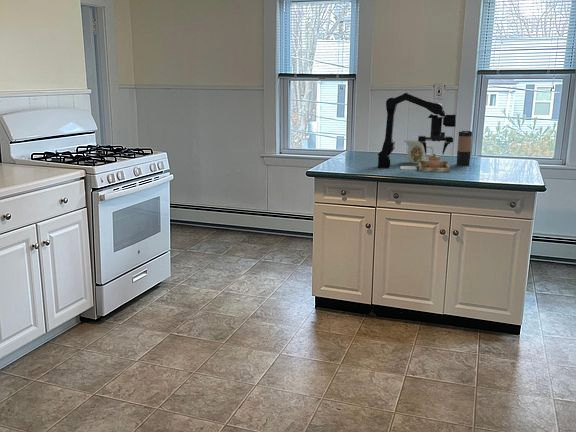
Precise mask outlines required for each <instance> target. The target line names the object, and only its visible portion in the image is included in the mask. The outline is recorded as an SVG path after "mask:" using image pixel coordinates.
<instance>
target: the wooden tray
mask: <svg viewBox="0 0 576 432" xmlns="http://www.w3.org/2000/svg"><path fill="white" fill-rule="evenodd" d="M428 163H429V160H418V164H417V167H418V171H419V172H428V173H429V172H431V173H432V172H433V173H434V172H436V173H437V172H438V173H450V172H451V166H450V165H449V161H448V160H440V163H439V168H428Z"/></svg>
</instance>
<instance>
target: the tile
mask: <svg viewBox="0 0 576 432" xmlns="http://www.w3.org/2000/svg"><path fill="white" fill-rule="evenodd" d="M399 170H406V171H407V170H408V171H410V170H411V171H418V170H417V166H414V165H412V166H410V165H400V166H399Z"/></svg>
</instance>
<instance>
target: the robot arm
mask: <svg viewBox="0 0 576 432" xmlns="http://www.w3.org/2000/svg"><path fill="white" fill-rule="evenodd" d="M405 101H406V102H409V103H412V104H414V105H418V106H419V107H421V108H425V109H426V110H428V112H431V113H430V115H429V116H427V118H428V119H430V120H431V121H430V134H429V136H430V137H429V136H426V135H418V137H417V141H418V142H420V143H422V144H423V146H424V150H425V154H426V155H427V149H426V146H427V141H432V142H443V148H442V155H444V154H445V151H446V149H447V147H448V145H451V143H454V137H453V136H452V135H451V136H449V135H447V136H446V133H445V131H442V125H443V126H444V127H445V128H446V127H447V128H456V125H457V123H456V122H457V115H456V114H447V113H446V112H445V111H444V106H443V105H442V103H439V102H435V101H429V100H426V99H423V98H421V97H418V96H415V95H413V94H410V92H405V93H402V94H401V95H399V96H397V97H390V98H387V99H386V101H385V108H386V115H387V116H386V124H385V125H386V126H385V135H384V136H385V137H384V141H383V144H382V147H381V150H380V152H378V154H377V157H378V161H377V168H378V169H389V168H391V159H390V155H391V154H392V153H393V151H394V150H395V149H396V148H395V145H396V141H394V139H393V134H394V121H395V113H396V111H397V106H398V104H401V103H403V102H405Z"/></svg>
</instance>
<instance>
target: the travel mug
mask: <svg viewBox="0 0 576 432" xmlns="http://www.w3.org/2000/svg"><path fill="white" fill-rule="evenodd" d="M472 138H473V131H470V130H462V131H458V139H457V151H456V165H457V166H462V167H463V166H464V167H465V166H466V167H470V163H471V162H470V161H471V154H472V153H471V152H472V140H473V139H472Z"/></svg>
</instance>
